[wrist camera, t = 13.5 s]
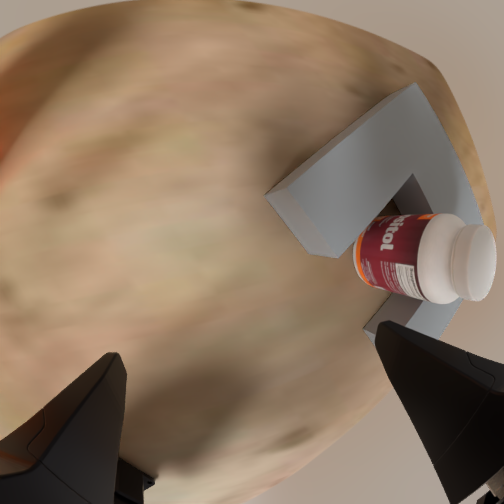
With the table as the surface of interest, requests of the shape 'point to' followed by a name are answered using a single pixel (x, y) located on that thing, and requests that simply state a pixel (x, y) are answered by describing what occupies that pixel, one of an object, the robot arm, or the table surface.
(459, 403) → the robot arm
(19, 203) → the table surface
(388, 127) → the notched board
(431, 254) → the pill bottle
